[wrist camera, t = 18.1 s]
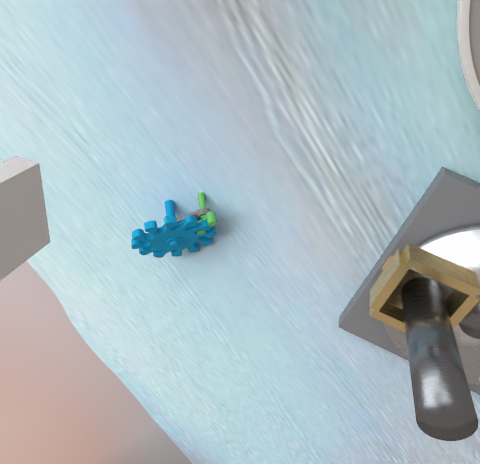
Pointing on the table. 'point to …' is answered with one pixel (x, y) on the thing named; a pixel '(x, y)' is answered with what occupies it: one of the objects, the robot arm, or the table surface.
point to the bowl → (469, 44)
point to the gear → (176, 232)
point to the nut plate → (414, 231)
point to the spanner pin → (436, 364)
